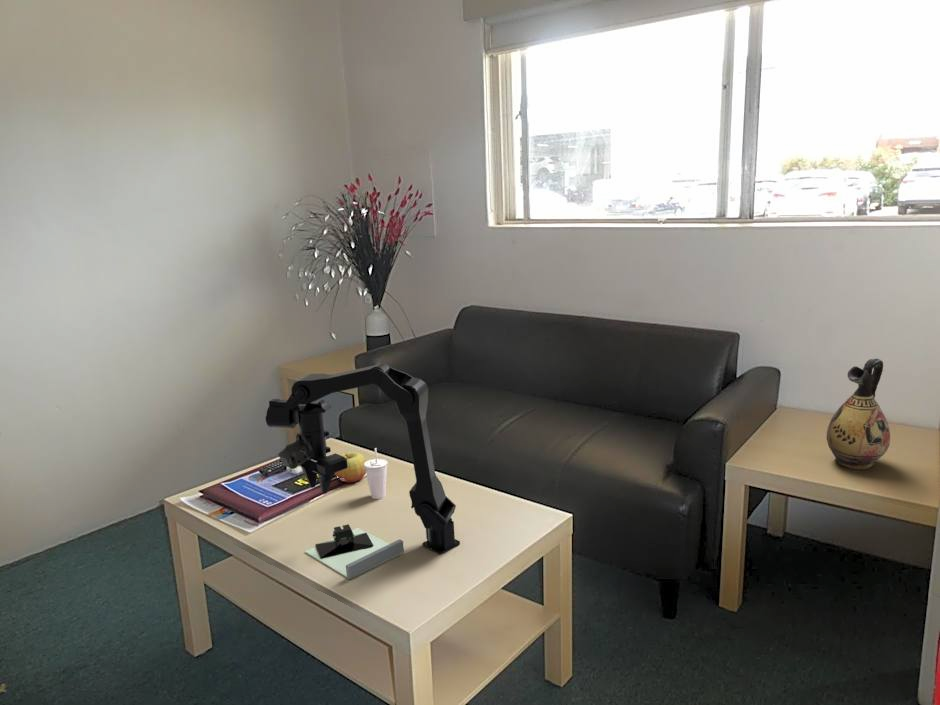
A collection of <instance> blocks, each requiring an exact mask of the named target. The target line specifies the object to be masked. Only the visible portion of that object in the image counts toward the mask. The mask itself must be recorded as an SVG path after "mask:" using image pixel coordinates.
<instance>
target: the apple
mask: <svg viewBox="0 0 940 705" xmlns="http://www.w3.org/2000/svg"><path fill="white" fill-rule="evenodd" d="M340 455H341V456H343V457H345V458H346V459H347V461H348V468H346V469H343V470H340V471H338V472H335V475H336V476H338V477H342V478H344V479H345V480H346V481H342V482H343V483H347V484H348V483H351V484H352V483H356V482H357V481H360V480H361V479H362V478H364V476H365V475H366V470H365V469H364V463H365V462H367V460H366V458H365V457H364V456H363V454H361V453H359V452H355V451H350V452H344V453H341V454H340ZM335 475H334V476H335ZM336 476H335V477H336Z"/></svg>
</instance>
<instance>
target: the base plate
mask: <svg viewBox="0 0 940 705" xmlns="http://www.w3.org/2000/svg"><path fill="white" fill-rule="evenodd" d="M351 530H352V532H353V534H354V535H358V534H362V533H367V535H368V536H369V538H370V540H371V542H372V543H373V547H371V548H368V549H361V550H357V551H353V552H348V553H344V554H340V555H336V556H332V557H327V558H323V559H321V558H320V556H319V553H318V551H317V548H316V546H314V547H313V546H312V547H311V548H309V549H307V550H305V551H304V553H305V554H307V555H309V556H310V557H312V558H314V559H315V560H317V561H318V562H320V563H321V564H324V565H325V566H327V567H329V568H330V569H332V570H333V571H335V572H337V573H338V574H340V575H341V576H343V577H345V578H346V579H347V580H350V581H351V580H352V579H355V578H357V577H359V576H360V575H363V574H365V573H367V572H368V571H370V570H373V569H374V568H376V567H378V566H380V565H382V564H384V563H386V562H388V561H391V560H392V559H394V558H396V557H398V556H400V555H403V554H404V553H405V548H404V541H403V540H402V539H399V538H398V539H396V540H394V541H393V542H391V543H388V542H387V541H384V540H382V539H381V538H378V537H377V536H374V535H373V534H370V533H369V532H367V531H365V530H363V529H361V528H359V527H356V528H354V529H351ZM332 540H334V537H332V538H331V539H329V540H327V541H332ZM327 541H325V542H327Z"/></svg>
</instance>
